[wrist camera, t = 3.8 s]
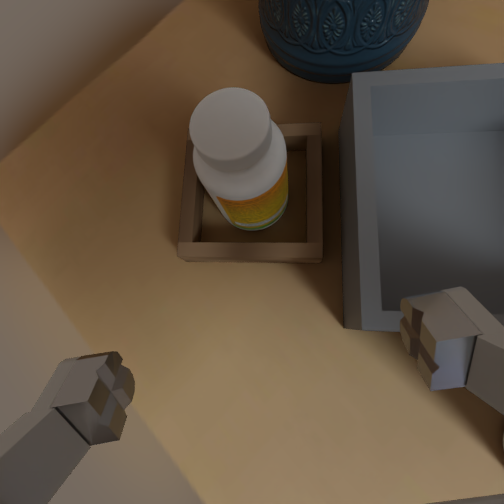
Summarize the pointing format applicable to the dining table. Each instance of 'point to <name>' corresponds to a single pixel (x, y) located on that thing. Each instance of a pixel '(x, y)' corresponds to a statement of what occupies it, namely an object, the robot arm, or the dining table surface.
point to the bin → (421, 189)
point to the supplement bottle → (240, 157)
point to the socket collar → (309, 252)
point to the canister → (338, 34)
